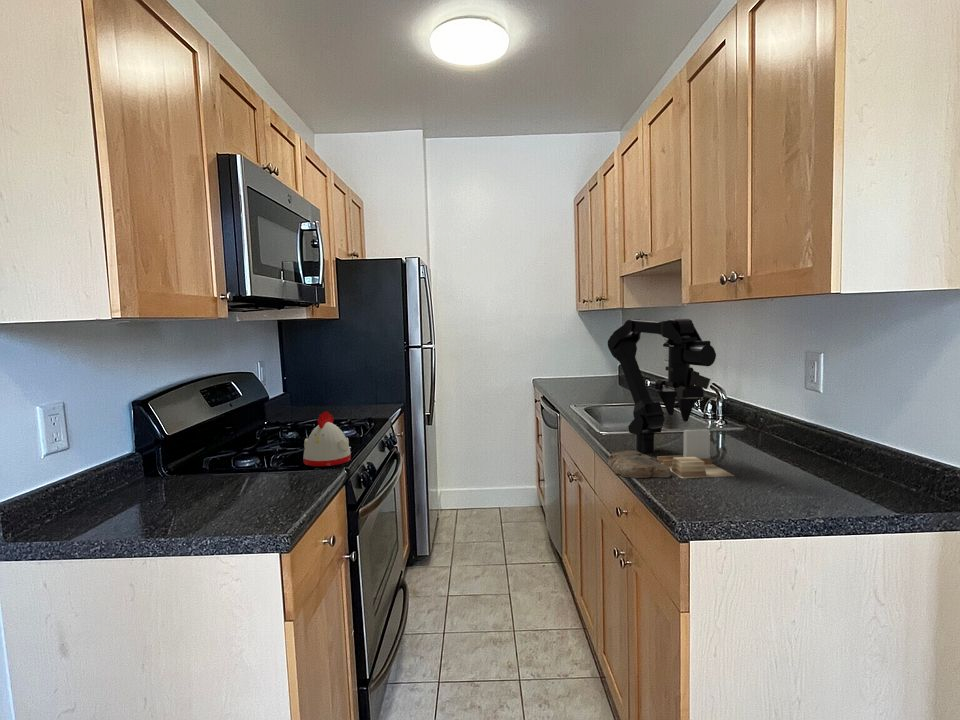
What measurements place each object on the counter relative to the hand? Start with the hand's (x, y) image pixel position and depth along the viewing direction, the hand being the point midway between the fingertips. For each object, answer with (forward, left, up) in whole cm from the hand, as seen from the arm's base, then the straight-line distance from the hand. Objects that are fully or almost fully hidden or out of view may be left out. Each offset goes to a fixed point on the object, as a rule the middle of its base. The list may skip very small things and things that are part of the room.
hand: (678, 418), depth 155 cm
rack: (+9, 0, -13) cm, 15 cm away
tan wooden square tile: (+14, -3, -12) cm, 18 cm away
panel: (+3, +4, -12) cm, 13 cm away
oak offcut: (+13, -3, -11) cm, 18 cm away
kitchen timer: (-18, -102, -13) cm, 105 cm away
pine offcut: (+13, -3, -10) cm, 17 cm away
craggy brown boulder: (+6, -15, -13) cm, 21 cm away
